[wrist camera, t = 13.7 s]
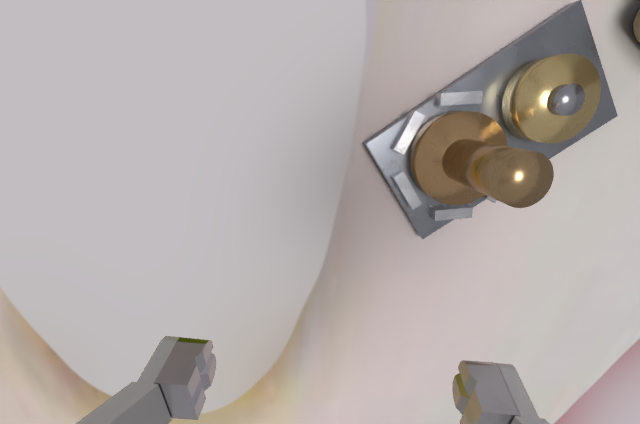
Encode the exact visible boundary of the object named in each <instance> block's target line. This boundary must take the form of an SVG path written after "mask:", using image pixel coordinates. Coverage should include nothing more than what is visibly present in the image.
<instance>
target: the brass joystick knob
mask: <svg viewBox="0 0 640 424" xmlns="http://www.w3.org/2000/svg"><path fill="white" fill-rule="evenodd" d="M409 168H410V173H411V176H412V178H413V180H414V182H415V184H416V185H417V186H418V187H419V188H420V189H421V190H422V191H423V192H424V193H426V194H427V195H429V196H430V197H432V198H433V199H435V200H437V201H438V202H441V203H444V204H448V205H464V204H468V203H472V202H474V201H476V200H478V199H480V198H482V197H483V196H485V195H487V196H490V197H492V198H494V199H496V200H498V201H501V202H503V203H505V204H507V205H509V206H512V207H515V208H524V207H528V206H531V205H533V204H535V203H537V202H538V201H540V200H541V199H542V198H543V197H544V196H545V195H546V193H547V192H548V190H549V189H550V187H551V184H552V181H553V174H554V173H553V166H552V164H551V162H550V160H549V159H548V158H547V157H546V156H545V155H544V154H542V153H539V152H536V151H530V150H525V149H519V148H514V147H509V146H508V144H507V140H506V137H505V134H504V132H503V130H502V128H501V127H500V126H499V124H498V123H497V122H496V121H495V120H493V119H492V118H491V117H489V116H487V115H485V114H482V113H479V112H473V111H451V112H446V113H443V114H440V115H438V116H436V117H434V118H433V119H431V120H430V121H429V122H427V123H426V124H425V125H424V126H423V127H422V128H421V130H420V131H419V132H418V134H417V135H416V137H415V139H414V141H413V143H412V146H411V149H410V154H409Z"/></svg>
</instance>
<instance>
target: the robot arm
mask: <svg viewBox="0 0 640 424" xmlns="http://www.w3.org/2000/svg"><path fill="white" fill-rule="evenodd" d="M212 349H213V345H212V341H211V340H201V339H191V338H181V337H170V336H165V337H164V338H163V339H162V340H161V342H160V343H159V345H158V347H157V348H156V350H155V352H154V354H153V355H152V357H151V359H150V360H149V362H148V364H147V366H146V367H145V369H144V371H143V372H142V374H141V376H140V378H139V379H138V381H137V382H132V383H131V384H129V385H128V386H126V387H125V388H123V389H122V390H121V391H119V392H118V393H117V394H115V395H114V396H113V397H111V398H110V399H109V400H107V401H106V402H105V403H103V404H102V405H100V406H99V407H98V408H96V409H95V410H94V411H92V412H91V413H90V414H88V415H87V416H86V417H84V418H83V419H82V420H80V421H79V422H77V423H76V424H168V423H169V422H170V421H171V420H172V419H171V418H178V419H194V420H198V418H199V416H200V413H201V410H202V408H203V405H204V403H205V399H206V397H205V394H204V391H205V390H206V389H207V388H208V387H210V386H211V383H212V381H213V378H214V374H215V369H216V359H215V356H214V355H213V354H212V353H211V351H212ZM458 368H459V372H460V373H459V374H457V375H456V376H455V377H454V380H453V398H454V402H455V406H456V408H457V409H458V410H459V411H460V412H461V413H462V418H461V420H460V424H549V423H548V422H547V421H546V420H545V419H542V418H539V417H538V415H537V412H536V410H535V408H534V406H533V404H532V402H531V400H530V398H529V396H528V394H527V391H526V389H525V387H524V385H523V383H522V381H521V379H520V377H519V375H518V373H517V371H516V368H515V367H514V366H513V365H511V364H500V363H493V362H478V361H461V362H460V364H459V366H458Z"/></svg>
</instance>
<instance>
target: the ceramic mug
mask: <svg viewBox="0 0 640 424" xmlns="http://www.w3.org/2000/svg"><path fill="white" fill-rule="evenodd" d="M633 32H634V34H635V36H636V39H637V40H638V42H639V43H640V9H639V11H638V13H637V15H636V17H635V19H634V22H633Z"/></svg>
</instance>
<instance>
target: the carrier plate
mask: <svg viewBox="0 0 640 424" xmlns="http://www.w3.org/2000/svg"><path fill="white" fill-rule="evenodd" d="M451 111H473V112H479V113H482V114H485V115H487V116H489V117H491V118H492V119H493V120H495V121H496V122H497V123H498V124H499V126H500V127H501V128H502V130H503V132H504V134H505V137H506V140H507V144H508V146H509V147H514V148H519V149H525V150H530V151H536V152H539V153H542V154H544V155H545V156H546V157H547V158H548V159H550V158H552V157H553V156H555V155H556V154H558V153H559V152H561V151H563V150H564V149H566V148H567V147H569V146H570V145H572V144H574V143H575V142H577V141H578V140H580V139H582V138H583V137H585V136H586V135H588V134H589V133H591V132H593V131H594V130H596V129H597V128H599V127H600V126H602V125H604V124H605V123H607V122H608V121H610V120H612V119H613V118H615V117H616V116H617V113H616V109H615V106H614V103H613V100H612V97H611V94H610V90H609V87H608V84H607V81H606V78H605V75H604V71H603V68H602V65H601V62H600V59H599V56H598V52H597V49H596V46H595V43H594V40H593V37H592V33H591V30H590V27H589V24H588V21H587V18H586V14H585V11H584V8H583V5H582V2H581V0H579V1H576V2H573V3H571V4H568V5H567V6H565V7H564V8H563V9H561V10H560V11H558V12H557V13H555V14H554V15H552V16H551V17H549V18H548V19H546V20H545V21H543V22H542V23H540V24H539V25H537V26H536V27H534V28H533V29H531V30H530V31H528V32H527V33H525V34H524V35H522V36H521V37H519V38H518V39H516V40H515V41H513V42H512V43H510V44H509V45H508V46H506V47H505V48H503V49H502V50H500V51H499V52H497V53H496V54H494V55H493V56H491V57H490V58H488V59H487V60H485V61H484V62H482V63H481V64H479V65H478V66H476V67H475V68H473V69H472V70H470V71H469V72H467V73H466V74H464V75H463V76H461V77H460V78H458V79H457V80H455V81H454V82H453V83H451V84H450V85H448V86H447V87H445V88H444V89H442V90H441V91H439V92H438V93H436V94H435V95H433V96H432V97H430V98H429V99H427V100H426V101H424V102H423V103H421V104H420V105H418V106H417V107H415V108H414V109H412V110H411V111H409V112H408V113H406V114H405V115H403V116H402V117H400V118H399V119H398V120H396V121H395V122H393V123H392V124H390V125H389V126H387V127H386V128H384V129H383V130H381V131H380V132H378V133H377V134H375V135H374V136H372V137H371V138H369V139H368V140H366V141H365V142H363V143H364V145H365V147H366V148H367V150H368V152H369V153H370V155H371V157H372V158H373V160H374V162H375V163H376V165H377V167H378V168H379V170H380V172H381V173H382V175H383V177H384V178H385V180H386V182H387V183H388V185H389V187H390V188H391V190H392V192H393V193H394V195H395V197H396V198H397V200H398V202H399V203H400V205H401V207H402V208H403V210H404V212H405V213H406V215H407V217H408V218H409V220H410V222H411V223H412V225H413V227H414V228H415V230H416V232H417V233H418V235H419V236H420V237H421V238H422V239H424V238H425V237H427V236H428V235H430V234H432V233H433V232H435V231H436V230H438V229H439V228H441V227H443V226H444V225H446V224H447V223H449V222H451V221H452V220H454V219H461V218H472V209H473V207H474V206H476V205H477V204H479V203H481V202H482V201H484V200H485V199H488V200H490V201H492V202H494V203H495V202H496V199H494V198H492V197H490V196H487V195H485V196H483V197H482V198H480V199H478V200H476V201H474V202H472V203H468V204H464V205H448V204H444V203H441V202H438V201H437V200H435V199H433V198H432V197H430V196H429V195H427V194H426V193H424V192H423V191H422V190H421V189H420V188H419V187H418V186H417V185H416V184H415V182H414V180H413V178H412V176H411V173H410V168H409V154H410V149H411V146H412V143H413V141H414V139H415V137H416V135H417V134H418V132H419V131H420V130H421V128H422V127H423V126H424V125H425V124H426V123H427V122H429V121H430V120H431V119H433V118H434V117H436V116H438V115H440V114H443V113H446V112H451Z"/></svg>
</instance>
